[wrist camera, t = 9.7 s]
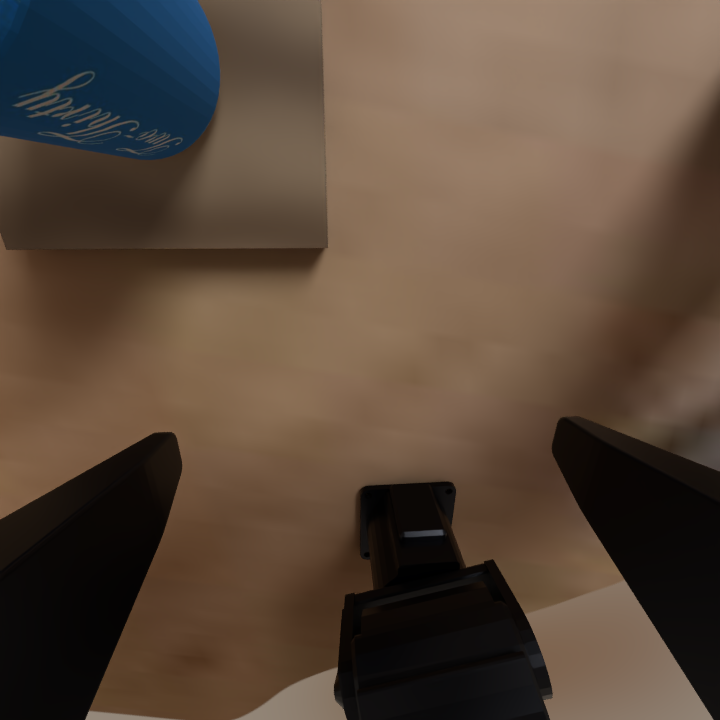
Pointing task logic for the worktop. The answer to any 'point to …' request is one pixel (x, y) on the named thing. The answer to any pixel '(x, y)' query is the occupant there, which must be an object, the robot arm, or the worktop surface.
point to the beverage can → (108, 74)
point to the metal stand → (197, 157)
